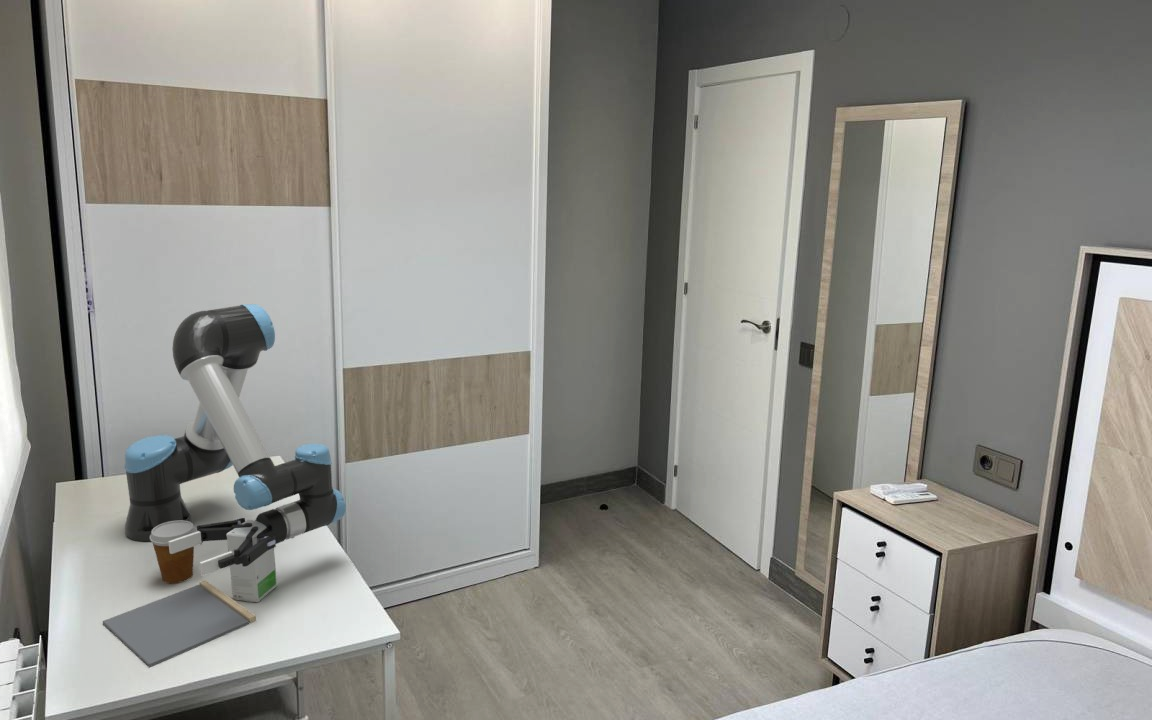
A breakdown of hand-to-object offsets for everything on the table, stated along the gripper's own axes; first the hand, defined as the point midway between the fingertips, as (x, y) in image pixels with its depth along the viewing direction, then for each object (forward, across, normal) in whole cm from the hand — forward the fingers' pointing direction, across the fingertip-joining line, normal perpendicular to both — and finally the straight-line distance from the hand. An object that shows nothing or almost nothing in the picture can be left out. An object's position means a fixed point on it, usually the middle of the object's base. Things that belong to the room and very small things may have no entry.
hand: (184, 558), depth 170 cm
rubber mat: (+3, 0, -14) cm, 14 cm away
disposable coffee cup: (-6, +20, -14) cm, 25 cm away
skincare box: (-14, 0, -14) cm, 20 cm away
